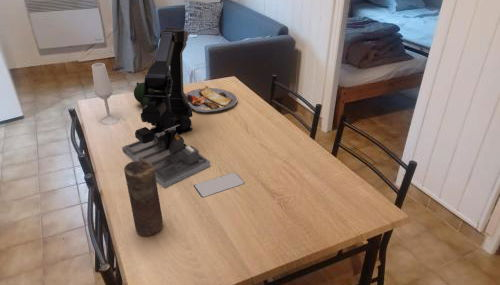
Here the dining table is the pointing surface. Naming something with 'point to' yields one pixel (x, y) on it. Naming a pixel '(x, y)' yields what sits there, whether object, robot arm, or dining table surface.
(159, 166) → the panel
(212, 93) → the food plate
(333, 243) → the dining table surface
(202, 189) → the smartphone
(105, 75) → the champagne flute
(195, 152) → the breaker
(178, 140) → the breaker mid
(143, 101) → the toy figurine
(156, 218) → the candle
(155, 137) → the block
